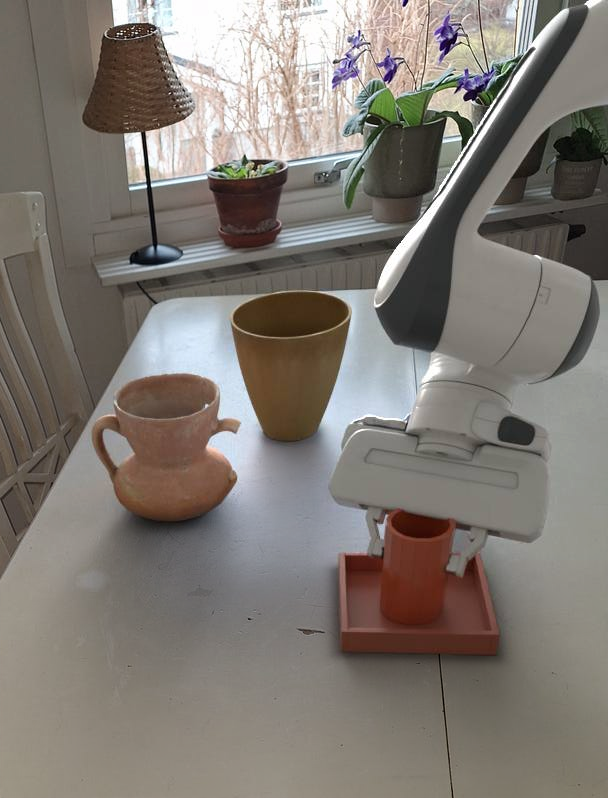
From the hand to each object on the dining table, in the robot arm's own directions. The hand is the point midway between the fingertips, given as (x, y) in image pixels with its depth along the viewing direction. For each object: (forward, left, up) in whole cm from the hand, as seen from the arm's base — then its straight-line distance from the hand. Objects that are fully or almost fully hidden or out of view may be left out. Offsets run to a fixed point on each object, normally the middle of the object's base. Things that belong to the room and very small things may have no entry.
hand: (413, 566), depth 88 cm
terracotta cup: (0, -1, -5) cm, 5 cm away
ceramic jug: (+27, -22, -6) cm, 35 cm away
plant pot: (+13, -40, -6) cm, 42 cm away
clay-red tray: (0, -1, -6) cm, 6 cm away
